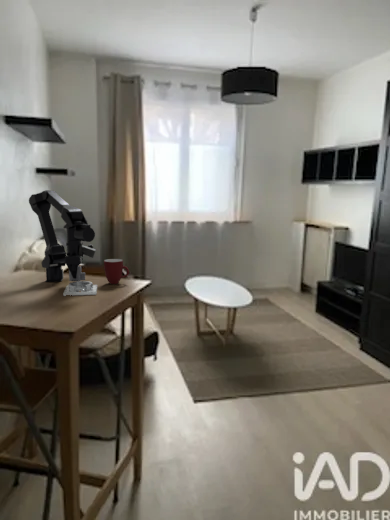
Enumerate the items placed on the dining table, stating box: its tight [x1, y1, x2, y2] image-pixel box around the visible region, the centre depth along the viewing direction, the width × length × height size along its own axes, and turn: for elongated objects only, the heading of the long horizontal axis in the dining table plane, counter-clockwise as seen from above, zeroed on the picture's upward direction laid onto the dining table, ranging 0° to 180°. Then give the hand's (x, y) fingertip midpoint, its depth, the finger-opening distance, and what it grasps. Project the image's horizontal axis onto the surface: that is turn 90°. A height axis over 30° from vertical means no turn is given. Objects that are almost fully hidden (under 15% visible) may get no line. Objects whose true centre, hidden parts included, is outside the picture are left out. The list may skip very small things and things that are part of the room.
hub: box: [63, 280, 98, 297], centre depth 159 cm, size 12×12×3 cm
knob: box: [68, 264, 86, 282], centre depth 167 cm, size 6×5×6 cm
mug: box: [103, 258, 130, 285], centre depth 174 cm, size 11×8×10 cm
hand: (75, 277), depth 168 cm, fingers closed on knob, 5 cm apart
